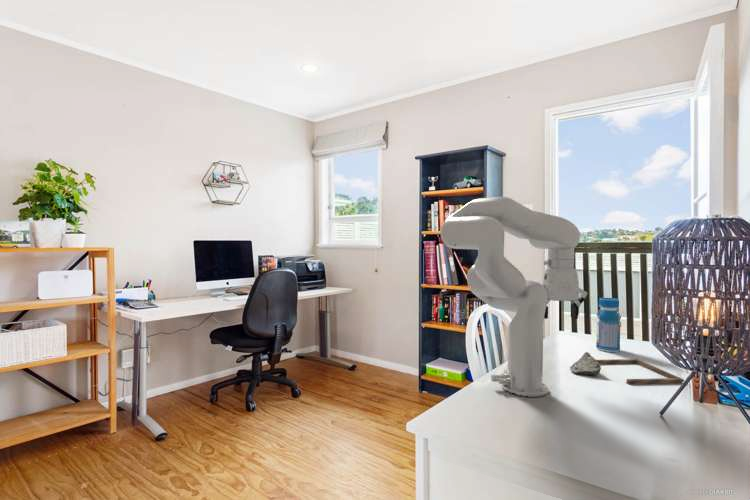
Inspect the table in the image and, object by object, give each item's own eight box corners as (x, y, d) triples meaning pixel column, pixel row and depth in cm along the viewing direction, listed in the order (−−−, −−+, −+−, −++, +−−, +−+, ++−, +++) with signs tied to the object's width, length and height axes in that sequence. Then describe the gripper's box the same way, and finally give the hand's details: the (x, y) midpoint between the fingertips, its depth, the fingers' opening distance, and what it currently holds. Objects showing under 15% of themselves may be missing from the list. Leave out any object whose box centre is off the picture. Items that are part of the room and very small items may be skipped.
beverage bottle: (605, 353, 154) (606, 300, 154) (590, 347, 163) (591, 297, 162) (625, 352, 155) (627, 300, 155) (610, 346, 164) (611, 297, 163)
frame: (629, 384, 122) (629, 380, 122) (589, 363, 142) (589, 359, 142) (683, 383, 123) (683, 379, 123) (636, 362, 143) (637, 359, 143)
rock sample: (559, 357, 137) (581, 342, 135) (570, 368, 140) (592, 354, 138) (575, 379, 128) (599, 364, 125) (586, 391, 131) (610, 376, 128)
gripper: (539, 265, 126) (538, 320, 126) (594, 265, 126) (592, 320, 127) (529, 263, 133) (527, 315, 134) (580, 264, 134) (579, 315, 134)
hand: (559, 317), depth 130 cm, fingers open, 9 cm apart
